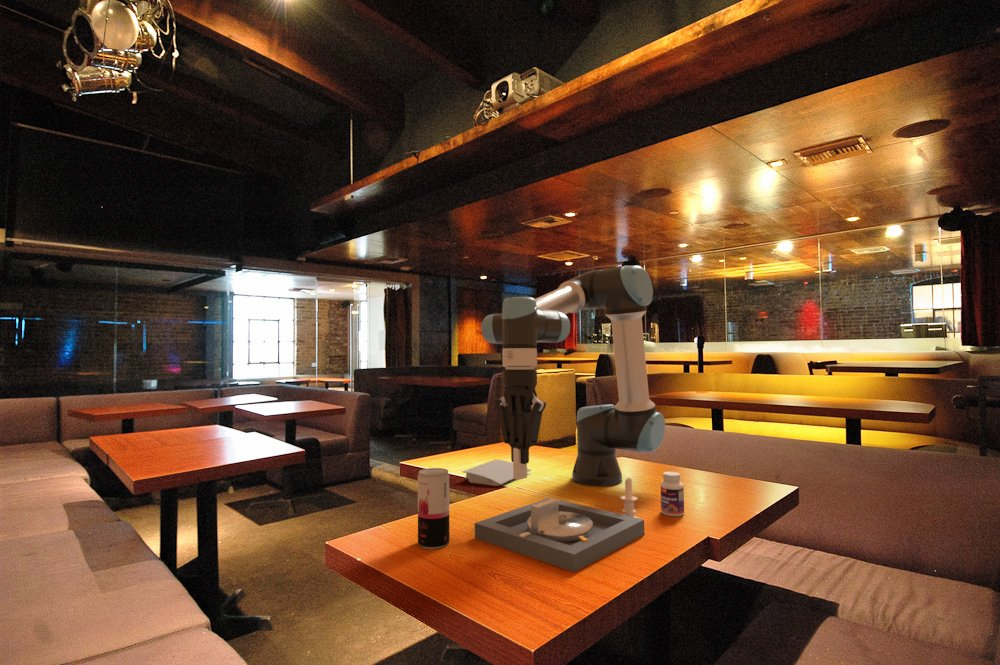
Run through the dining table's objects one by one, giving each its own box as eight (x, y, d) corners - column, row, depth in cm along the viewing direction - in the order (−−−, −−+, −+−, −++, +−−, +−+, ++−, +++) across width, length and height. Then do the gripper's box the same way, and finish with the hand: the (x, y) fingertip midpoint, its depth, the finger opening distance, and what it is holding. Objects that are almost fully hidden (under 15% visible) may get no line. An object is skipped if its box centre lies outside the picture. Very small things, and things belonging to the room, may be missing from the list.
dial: (553, 516, 121) (553, 486, 121) (605, 529, 111) (604, 497, 111) (509, 533, 109) (509, 500, 110) (562, 550, 100) (561, 513, 100)
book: (455, 484, 158) (454, 471, 158) (492, 469, 178) (492, 458, 178) (498, 490, 150) (498, 477, 151) (532, 474, 170) (532, 462, 171)
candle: (616, 523, 119) (615, 478, 119) (619, 516, 124) (618, 473, 124) (640, 525, 117) (638, 479, 118) (641, 518, 122) (640, 474, 122)
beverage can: (422, 551, 103) (422, 476, 104) (414, 541, 109) (414, 469, 110) (453, 546, 106) (453, 472, 106) (444, 536, 112) (443, 466, 112)
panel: (549, 510, 129) (549, 496, 129) (644, 534, 111) (644, 518, 111) (474, 538, 110) (474, 521, 110) (574, 572, 92) (574, 552, 93)
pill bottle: (657, 513, 126) (656, 473, 126) (666, 508, 129) (665, 469, 130) (678, 518, 122) (677, 477, 122) (688, 513, 126) (686, 473, 126)
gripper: (486, 368, 113) (486, 476, 112) (531, 369, 104) (532, 486, 103) (509, 367, 119) (509, 471, 118) (554, 368, 110) (555, 480, 109)
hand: (520, 478), depth 110 cm, fingers closed
